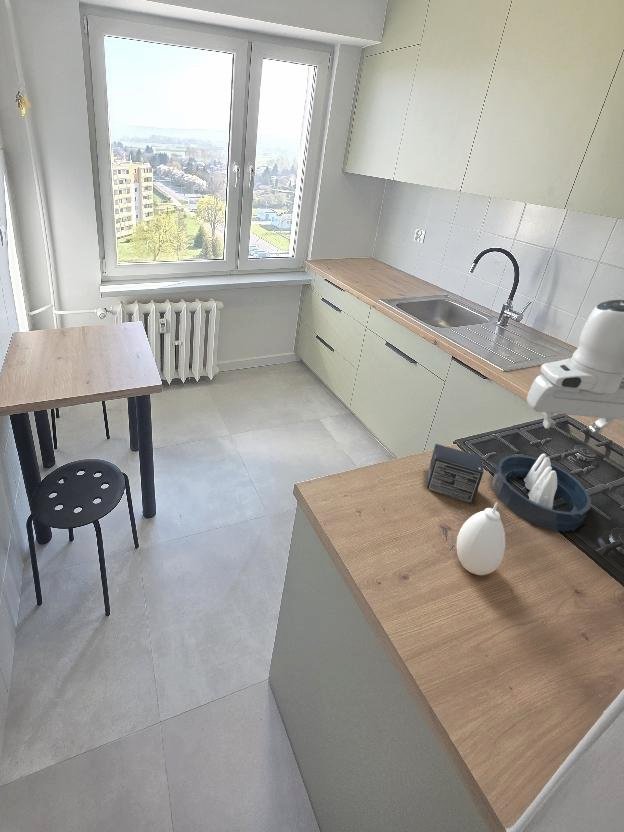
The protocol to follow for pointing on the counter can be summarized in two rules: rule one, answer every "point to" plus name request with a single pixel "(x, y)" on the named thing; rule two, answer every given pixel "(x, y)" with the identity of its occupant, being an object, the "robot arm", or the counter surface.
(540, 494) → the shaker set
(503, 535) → the white bulb air blower
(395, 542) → the counter surface
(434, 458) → the small box
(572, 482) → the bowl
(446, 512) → the counter surface
